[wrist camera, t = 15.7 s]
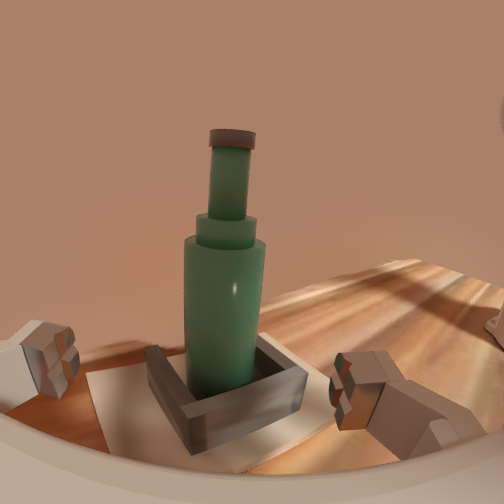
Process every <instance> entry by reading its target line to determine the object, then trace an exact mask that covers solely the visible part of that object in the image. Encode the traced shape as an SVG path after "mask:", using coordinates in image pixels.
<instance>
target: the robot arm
mask: <svg viewBox="0 0 504 504" xmlns="http://www.w3.org/2000/svg"><path fill="white" fill-rule="evenodd" d="M500 123H501V127H502V130H503V133H504V97H503V99H502V102H501V106H500ZM485 329H486V330H487V331H489V332H490V333H491V334H492V335H493V336H494V337H495V338H496V340H497V341H498V343H499V344H500V345H501V346H502V347H503V348H504V303H503V305H502V308H501V311H500V313H499V314H498V315H496V316H495V317H493V318H492V319H490V320H488V321H487V322H486V325H485ZM74 341H75V337H74V333H73V330H72V329H71V328H70V327H66V326H61V325H57V324H54V323H49V322H45V321H41V320H37V319H32V320H31V321H30V322H29V323H27V324H26V325H25V326H24V327H23V328H22V329H20V330H19V331H18V332H17V333H16V334H14V335H13V336H12V337H11V338H10V339H9V340H8V341H7V340H2V341H0V504H504V428H501V429H499V430H497V431H494V432H492V433H489V434H487V433H486V431H485V430H484V429H483V427H482V426H481V424H480V423H479V422H478V420H477V419H476V417H475V416H474V415H473V413H472V412H471V411H470V410H469V409H467V408H465V407H463V406H461V405H459V404H457V403H455V402H453V401H451V400H449V399H447V398H445V397H443V396H441V395H439V394H437V393H435V392H433V391H431V390H429V389H427V388H425V387H423V386H421V385H419V384H417V383H415V382H414V381H412V380H406V379H405V378H404V376H403V375H402V373H401V372H400V370H399V369H398V367H397V366H396V364H395V363H394V361H393V360H392V358H391V357H390V355H389V354H388V352H387V351H385V350H379V351H369V352H349V353H338V354H337V356H336V359H335V363H334V365H335V368H336V370H337V371H336V372H335V373H334V374H333V375H331V378H330V382H329V400H330V403H331V405H332V406H333V407H334V408H336V411H335V414H334V416H335V420H336V423H337V426H338V429H339V431H343V430H357V429H366V431H368V432H369V433H370V434H371V435H372V436H373V437H374V438H376V439H377V440H378V441H379V442H380V443H381V444H383V445H384V446H385V447H386V448H387V449H388V450H390V451H391V452H392V453H393V454H394V455H395V456H397V457H398V458H399V459H400V460H401V461H397V462H392V463H387V464H382V465H376V466H370V467H364V468H357V469H350V470H342V471H333V472H322V473H308V474H283V475H257V474H232V473H218V472H207V471H198V470H190V469H182V468H175V467H169V466H163V465H157V464H152V463H147V462H142V461H137V460H133V459H128V458H124V457H120V456H116V455H112V454H108V453H105V452H101V451H98V450H94V449H91V448H87V447H84V446H81V445H78V444H75V443H72V442H69V441H66V440H63V439H61V438H58V437H55V436H53V435H50V434H47V433H45V432H42V431H40V430H37V429H35V428H33V427H30V426H28V425H26V424H24V423H21V422H19V421H17V420H15V419H13V418H11V417H9V416H6V415H4V414H5V413H7V412H8V411H10V410H12V409H13V408H15V407H17V406H19V405H20V404H22V403H24V402H26V401H27V400H29V399H31V398H33V397H34V396H36V395H38V393H41V394H44V395H47V396H50V397H54V398H57V399H60V397H61V396H62V394H63V393H64V391H65V390H66V389H67V387H68V384H67V381H69V380H71V379H73V378H74V377H75V376H76V374H77V373H78V369H79V365H80V360H79V354H78V351H77V350H76V348H75V347H74V346H73V343H74Z"/></svg>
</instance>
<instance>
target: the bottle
mask: <svg viewBox="0 0 504 504" xmlns="http://www.w3.org/2000/svg"><path fill="white" fill-rule="evenodd" d="M255 135H256V133H254V132H250V131H243V130H234V129H214V130H210V139H209V140H210V141H209V147H212V157H211V169H210V170H211V171H210V185H209V202H208V213H205V214H199V215H197V216H196V235H194V236H190V237H188V238H186V239H185V243H184V244H185V245H184V332H185V365H186V386H187V388H188V390H189V391H190V392H191V394H192V395H193V396H194V398H195V399H196V400H197V401H200V400H203V399H206V398H210V397H213V396H216V395H219V394H222V393H225V392H228V391H231V390H234V389H237V388H239V387H242V386H245V385H248V384H251V383H252V378H253V369H254V360H255V350H256V340H257V330H258V320H259V310H260V300H261V290H262V279H263V269H264V258H265V248H266V245H265V243H264V242H262V241H260V240H258V239H255V235H256V223H257V219H256V218H254V217H250V216H247V215H246V207H247V195H248V181H249V169H250V156H251V150H254V147H255Z"/></svg>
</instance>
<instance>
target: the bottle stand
mask: <svg viewBox="0 0 504 504" xmlns="http://www.w3.org/2000/svg"><path fill="white" fill-rule="evenodd" d="M144 353H145V361H146V362H143V363H138V364H133V365H128V366H122V367H117V368H112V369H106V370H100V371H94V372H88V373H86V377H87V381H88V385H89V389H90V392H91V396H92V400H93V403H94V406H95V410H96V413H97V416H98V420H99V423H100V426H101V429H102V432H103V435H104V438H105V440H106V443H107V446H108V449H109V451H110V454H112V455H116V456H120V457H124V458H128V459H133V460H137V461H142V462H147V463H152V464H157V465H163V466H169V467H175V468H182V469H190V470H198V471H207V472H218V473H232V474H240V473H242V472H244V471H247V470H249V469H251V468H253V467H255V466H257V465H259V464H261V463H263V462H266V461H268V460H270V459H272V458H274V457H275V456H277V455H279V454H281V453H283V452H285V451H287V450H289V449H291V448H292V447H294V446H296V445H298V444H300V443H301V442H303V441H305V440H307V439H308V438H310V437H312V436H314V435H315V434H317V433H319V432H320V431H322V430H323V429H325V428H327V427H328V426H330V425H332V424H333V423H335V422H336V420H335V416H334V414H335V411H336V408H334V407H333V406H332V405H331V403H330V400H329V382H330V379H329V378H328V377H326V376H325V375H323V374H322V373H320V372H319V371H318V370H316V369H315V368H313V367H312V366H310V365H309V364H308V363H306V362H305V361H303V360H302V359H301V358H299V357H298V356H296V355H295V354H294V353H292V352H291V351H290V350H288V349H287V348H285V347H284V346H283V345H281V344H280V343H279V342H277V341H276V340H275V339H273V338H272V337H271V336H269V335H268V334H267V333H265V332H263V333H260V334H257V340H256V350H255V360H254V369H253V378H252V383H251V384H248V385H245V386H242V387H239V388H237V389H234V390H231V391H228V392H225V393H222V394H219V395H216V396H213V397H210V398H206V399H203V400H200V401H197V400H196V399H195V398H194V396H193V395H192V394H191V392H190V391H189V390H188V388H187V386H186V365H185V353H183V354H179V355H175V356H170V357H166V356H165V355H164V353H163V352H162V350H161V349H160V347H159V346H158V345H154V346H149V347H144Z"/></svg>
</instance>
